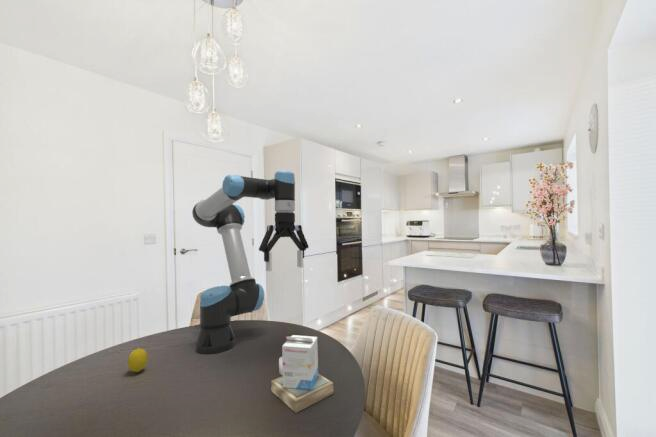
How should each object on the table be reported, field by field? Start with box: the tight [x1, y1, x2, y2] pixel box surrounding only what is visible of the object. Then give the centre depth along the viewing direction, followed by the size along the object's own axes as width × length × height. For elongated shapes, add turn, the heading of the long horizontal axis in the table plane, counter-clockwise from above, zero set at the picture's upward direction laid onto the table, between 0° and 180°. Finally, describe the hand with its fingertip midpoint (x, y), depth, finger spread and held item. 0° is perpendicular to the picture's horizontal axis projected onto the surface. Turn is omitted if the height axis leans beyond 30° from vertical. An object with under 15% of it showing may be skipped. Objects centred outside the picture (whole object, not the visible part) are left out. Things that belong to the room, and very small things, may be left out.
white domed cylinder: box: [278, 356, 283, 376], centre depth 94 cm, size 7×7×4 cm
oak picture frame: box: [270, 373, 334, 414], centre depth 82 cm, size 13×13×3 cm
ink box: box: [281, 334, 319, 390], centre depth 82 cm, size 9×8×13 cm
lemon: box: [127, 347, 148, 373], centre depth 94 cm, size 6×6×8 cm
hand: (285, 269), depth 105 cm, fingers open, 13 cm apart
